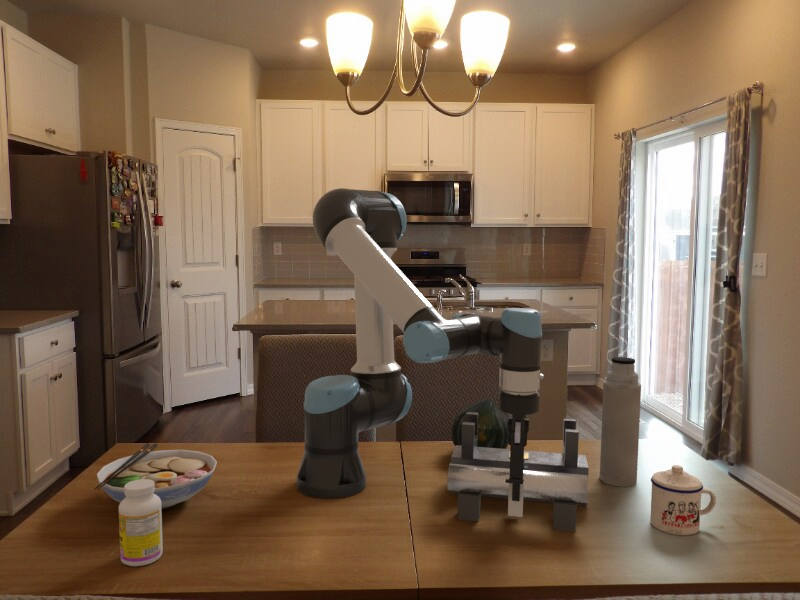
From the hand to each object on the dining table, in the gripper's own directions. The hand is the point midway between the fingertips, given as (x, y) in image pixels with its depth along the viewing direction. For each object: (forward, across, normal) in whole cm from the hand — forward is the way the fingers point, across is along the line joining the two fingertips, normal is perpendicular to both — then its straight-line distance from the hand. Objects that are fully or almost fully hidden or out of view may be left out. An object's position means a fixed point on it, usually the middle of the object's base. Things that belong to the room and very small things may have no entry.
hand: (515, 509), depth 123 cm
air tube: (-3, 0, 0) cm, 3 cm away
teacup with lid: (+2, +5, -31) cm, 32 cm away
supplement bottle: (+3, -29, +61) cm, 68 cm away
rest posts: (+2, 0, 0) cm, 2 cm away
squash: (+3, +37, +10) cm, 38 cm away
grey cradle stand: (+2, +14, 0) cm, 15 cm away
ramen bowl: (+3, -8, +71) cm, 71 cm away
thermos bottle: (+3, +27, -22) cm, 35 cm away
